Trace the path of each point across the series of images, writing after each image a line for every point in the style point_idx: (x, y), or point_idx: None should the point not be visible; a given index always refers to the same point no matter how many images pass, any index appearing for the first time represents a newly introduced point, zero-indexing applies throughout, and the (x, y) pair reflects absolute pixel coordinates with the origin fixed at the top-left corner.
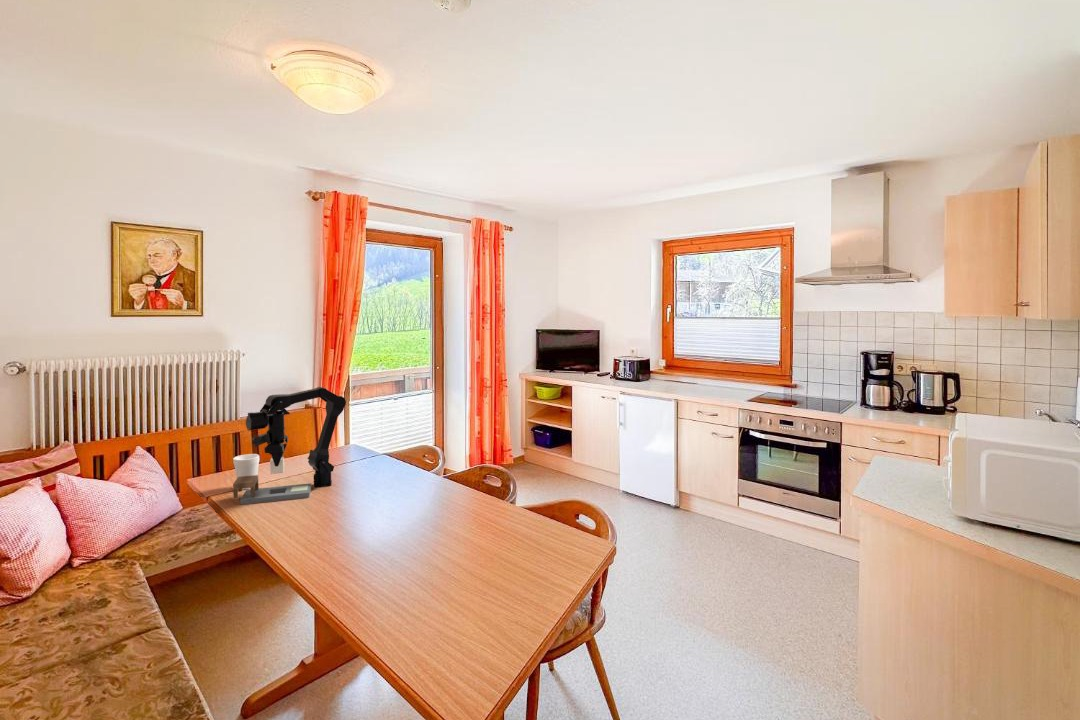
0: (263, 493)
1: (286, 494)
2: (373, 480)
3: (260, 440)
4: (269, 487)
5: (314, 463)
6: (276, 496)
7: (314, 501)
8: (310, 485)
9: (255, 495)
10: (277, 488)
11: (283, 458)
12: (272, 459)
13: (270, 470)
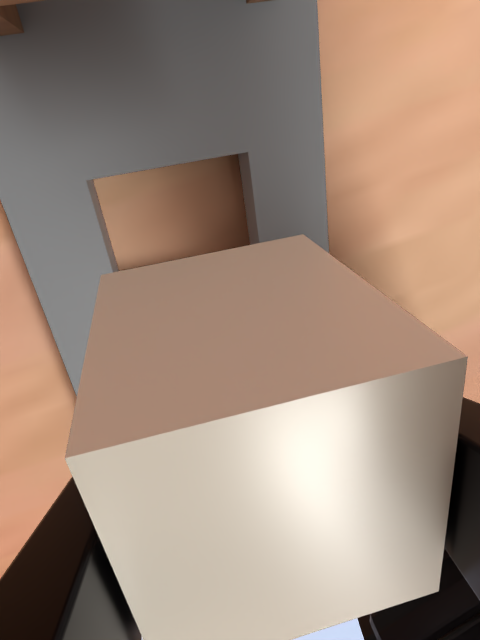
0: (120, 116)
1: (75, 357)
2: (358, 636)
3: None
4: (317, 118)
5: (400, 630)
6: (34, 282)
7: (30, 521)
8: None
9: (51, 34)
10: (265, 216)
11: (293, 633)
12: (229, 461)
13: (95, 304)
